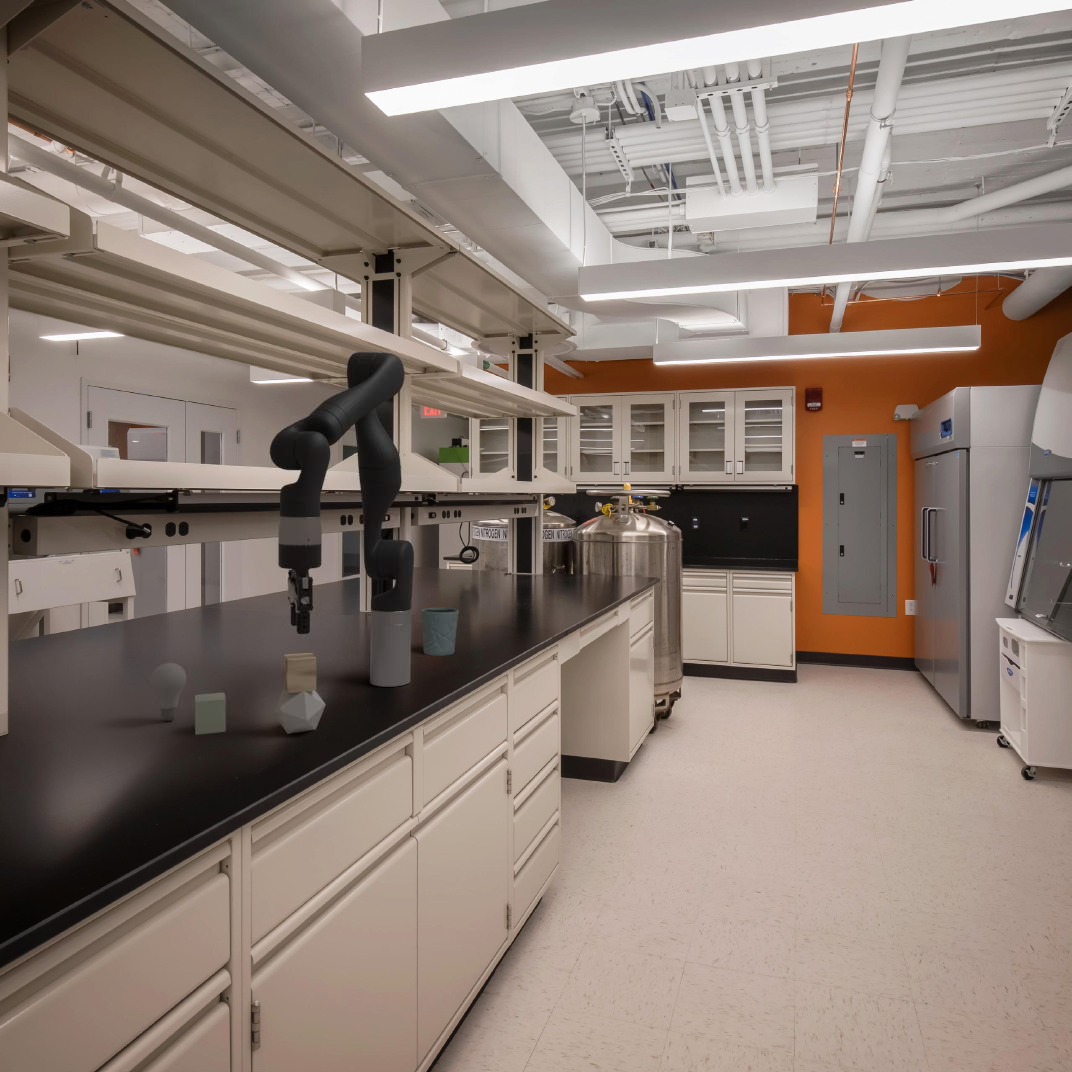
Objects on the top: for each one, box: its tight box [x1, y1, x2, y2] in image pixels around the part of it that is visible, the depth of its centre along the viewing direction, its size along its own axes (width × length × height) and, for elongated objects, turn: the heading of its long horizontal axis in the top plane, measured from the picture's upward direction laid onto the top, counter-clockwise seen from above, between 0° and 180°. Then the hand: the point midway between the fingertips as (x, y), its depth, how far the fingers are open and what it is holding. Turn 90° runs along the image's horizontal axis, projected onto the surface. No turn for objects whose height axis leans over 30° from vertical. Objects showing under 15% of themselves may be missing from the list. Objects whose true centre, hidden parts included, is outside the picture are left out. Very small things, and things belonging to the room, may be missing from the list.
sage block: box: [194, 692, 227, 736], centre depth 136 cm, size 5×5×6 cm
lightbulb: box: [149, 662, 187, 722], centre depth 140 cm, size 6×6×11 cm
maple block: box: [283, 652, 317, 693], centre depth 137 cm, size 5×5×6 cm
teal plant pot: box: [421, 607, 459, 657], centre depth 207 cm, size 10×10×12 cm
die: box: [273, 687, 326, 735], centre depth 137 cm, size 8×9×10 cm
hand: (299, 629), depth 136 cm, fingers open, 8 cm apart
